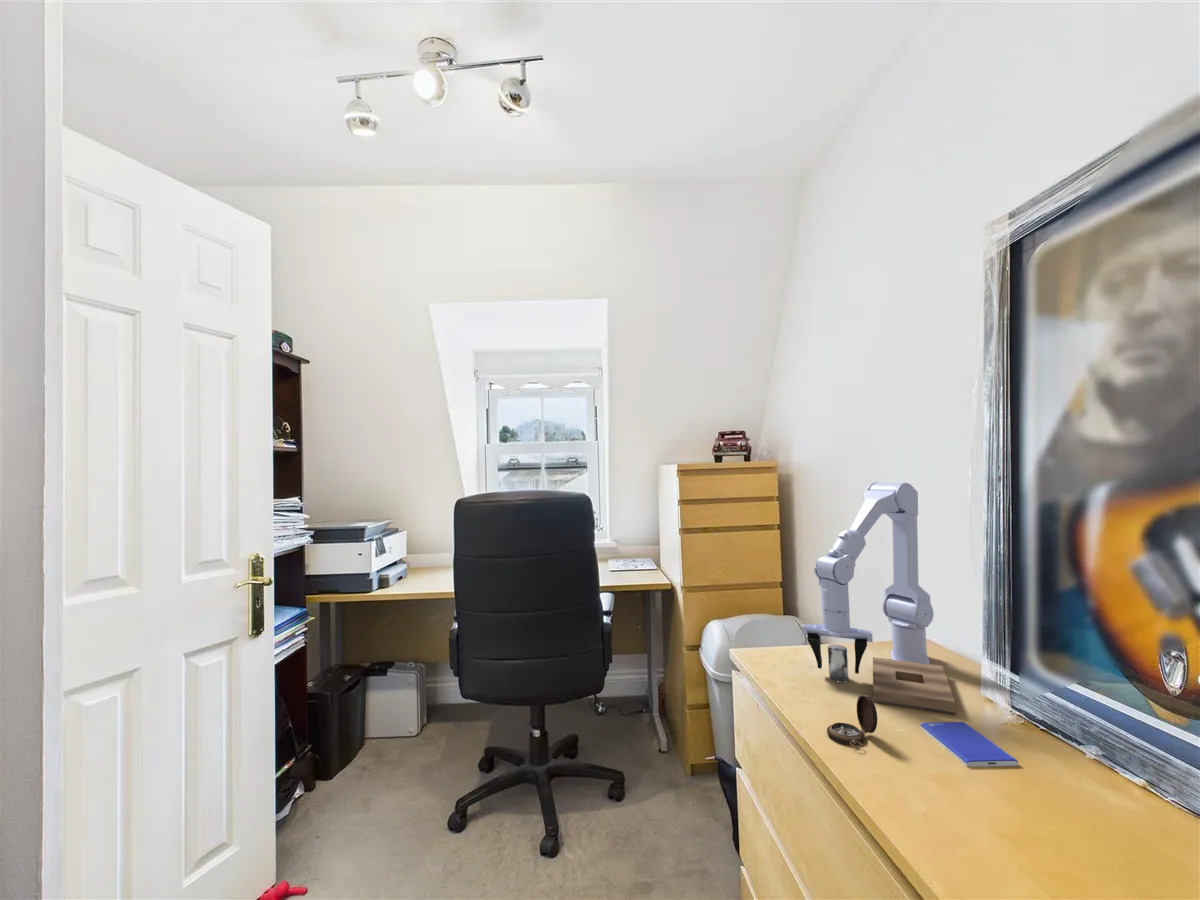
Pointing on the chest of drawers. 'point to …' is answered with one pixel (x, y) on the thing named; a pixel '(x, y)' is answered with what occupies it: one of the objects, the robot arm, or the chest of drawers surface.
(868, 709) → the compass
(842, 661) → the peg
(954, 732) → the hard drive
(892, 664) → the socket board
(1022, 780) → the chest of drawers surface
